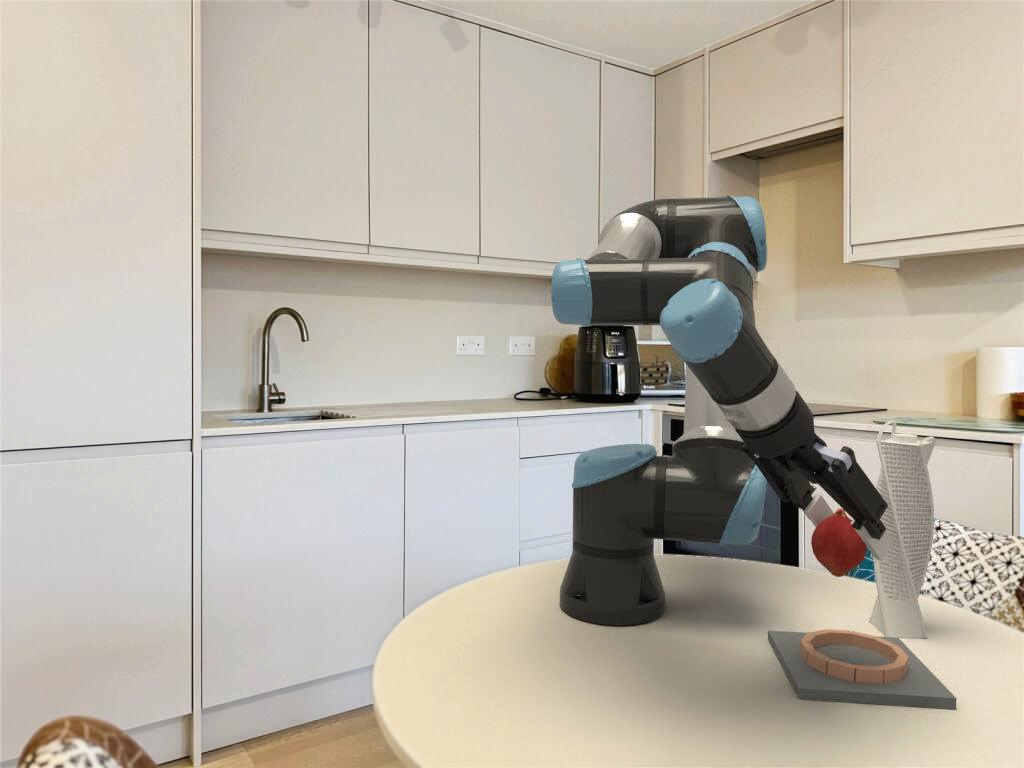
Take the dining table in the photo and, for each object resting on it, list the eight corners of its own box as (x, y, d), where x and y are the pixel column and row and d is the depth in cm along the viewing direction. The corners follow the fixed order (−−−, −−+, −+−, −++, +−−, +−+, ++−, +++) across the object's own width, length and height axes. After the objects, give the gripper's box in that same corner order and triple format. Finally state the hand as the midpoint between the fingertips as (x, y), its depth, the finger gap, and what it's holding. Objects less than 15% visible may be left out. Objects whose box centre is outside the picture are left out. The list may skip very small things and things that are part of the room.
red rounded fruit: (801, 568, 89) (804, 501, 88) (849, 568, 89) (852, 502, 89) (823, 584, 83) (827, 513, 83) (874, 584, 83) (878, 513, 83)
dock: (798, 698, 81) (799, 674, 81) (767, 639, 97) (768, 619, 97) (955, 709, 79) (957, 684, 79) (898, 646, 95) (898, 626, 95)
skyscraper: (856, 617, 105) (864, 418, 103) (910, 618, 105) (919, 419, 103) (881, 640, 97) (891, 426, 95) (940, 642, 97) (950, 426, 95)
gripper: (684, 424, 86) (780, 548, 95) (819, 446, 70) (920, 593, 78) (720, 377, 88) (811, 503, 97) (859, 388, 72) (953, 538, 81)
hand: (860, 543), depth 88 cm, fingers closed on red rounded fruit, 6 cm apart
